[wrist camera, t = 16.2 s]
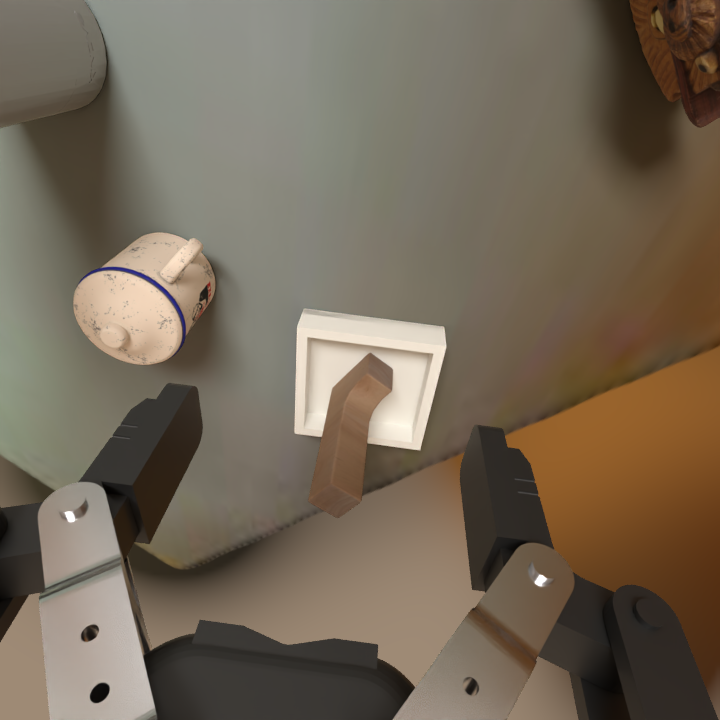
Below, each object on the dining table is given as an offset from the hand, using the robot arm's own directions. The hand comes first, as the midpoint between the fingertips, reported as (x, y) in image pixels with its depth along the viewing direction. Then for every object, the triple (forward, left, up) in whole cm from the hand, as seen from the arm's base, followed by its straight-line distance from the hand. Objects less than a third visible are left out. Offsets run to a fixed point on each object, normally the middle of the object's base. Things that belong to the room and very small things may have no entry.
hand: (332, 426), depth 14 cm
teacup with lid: (-18, -11, -30) cm, 37 cm away
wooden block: (+1, -21, -29) cm, 36 cm away
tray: (+1, -21, -30) cm, 37 cm away
